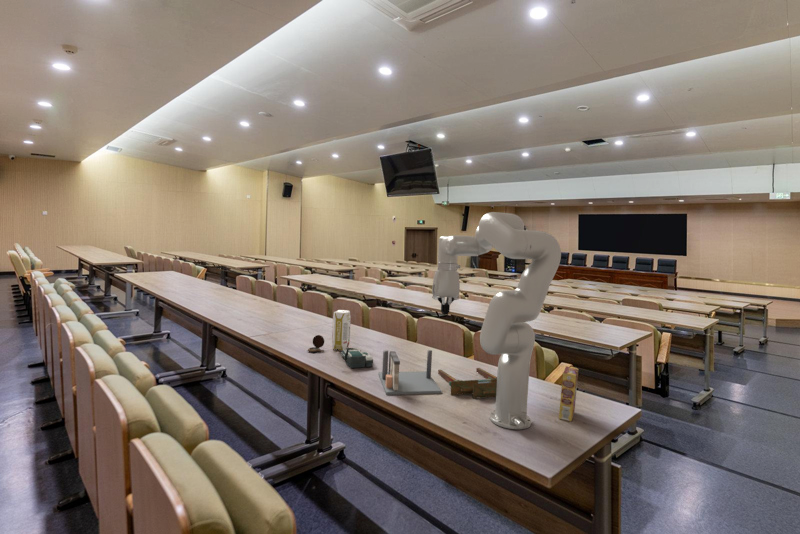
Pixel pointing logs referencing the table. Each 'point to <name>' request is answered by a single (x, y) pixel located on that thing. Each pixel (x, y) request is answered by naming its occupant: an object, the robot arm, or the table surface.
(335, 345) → the juice carton
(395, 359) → the gate
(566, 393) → the candy box
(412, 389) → the gray panel stand
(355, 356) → the communication device
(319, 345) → the compass
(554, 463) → the table surface
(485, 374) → the miniature gate
